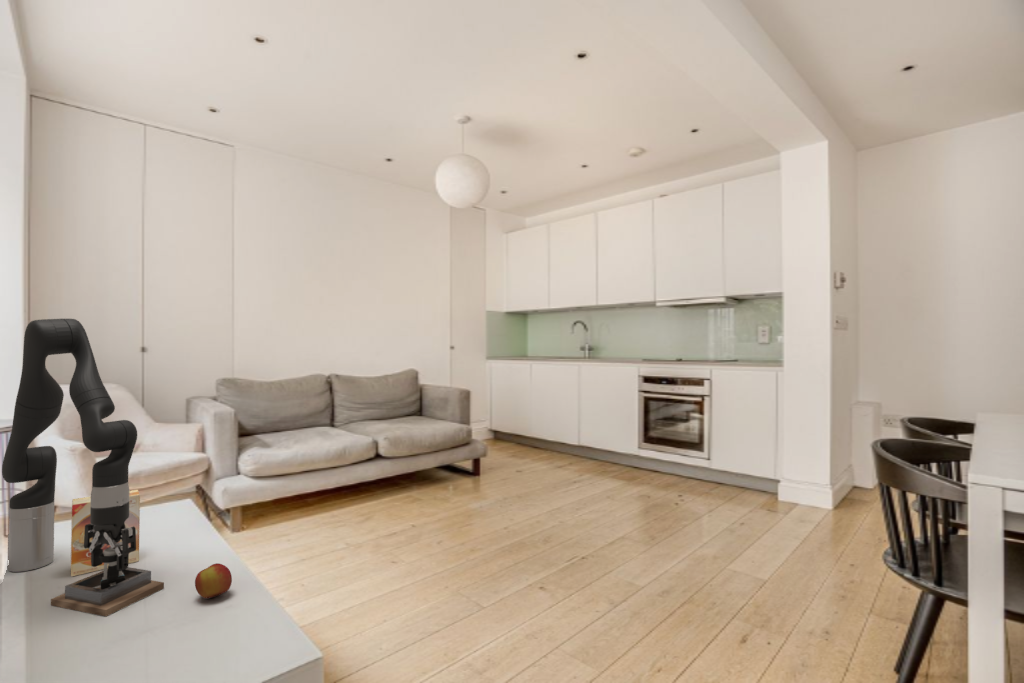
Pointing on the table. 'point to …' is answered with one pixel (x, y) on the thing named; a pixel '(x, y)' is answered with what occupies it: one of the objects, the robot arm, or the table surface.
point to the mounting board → (109, 606)
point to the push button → (110, 569)
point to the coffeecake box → (78, 552)
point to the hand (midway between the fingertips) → (109, 567)
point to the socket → (91, 595)
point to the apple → (213, 581)
